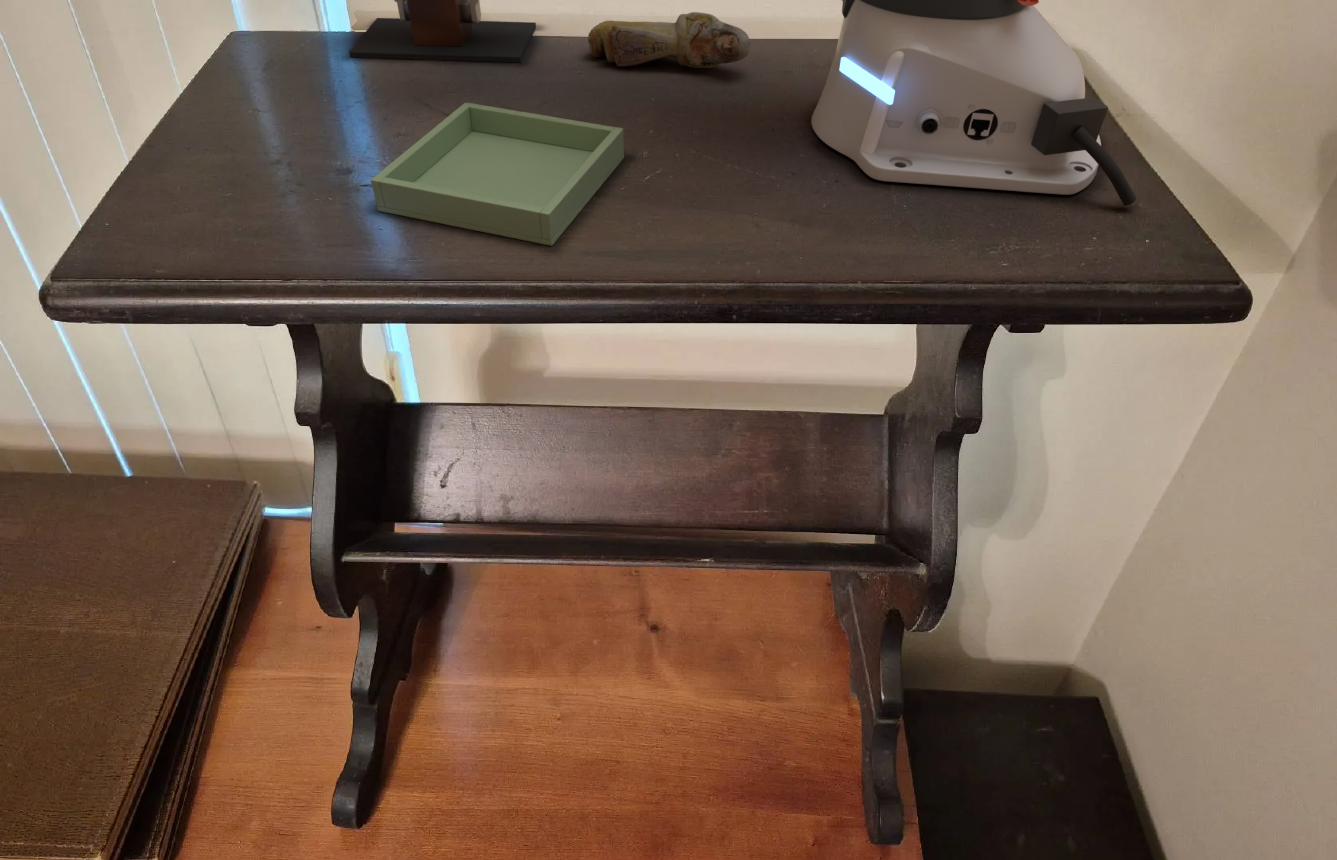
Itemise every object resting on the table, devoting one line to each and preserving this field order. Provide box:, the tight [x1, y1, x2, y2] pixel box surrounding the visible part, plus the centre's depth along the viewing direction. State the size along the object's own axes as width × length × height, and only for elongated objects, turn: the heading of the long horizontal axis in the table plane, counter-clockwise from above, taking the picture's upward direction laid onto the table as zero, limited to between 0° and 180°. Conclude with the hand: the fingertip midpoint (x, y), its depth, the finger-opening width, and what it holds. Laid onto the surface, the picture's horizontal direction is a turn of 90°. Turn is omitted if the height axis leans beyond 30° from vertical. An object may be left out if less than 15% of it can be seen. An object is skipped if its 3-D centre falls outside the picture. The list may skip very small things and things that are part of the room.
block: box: [407, 0, 472, 47], centre depth 82 cm, size 4×4×4 cm
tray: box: [370, 102, 625, 247], centre depth 64 cm, size 13×13×2 cm
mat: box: [348, 17, 537, 63], centre depth 84 cm, size 16×9×1 cm, turn 87°
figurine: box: [587, 11, 751, 69], centre depth 79 cm, size 5×5×15 cm
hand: (440, 20), depth 83 cm, fingers closed on block, 4 cm apart
